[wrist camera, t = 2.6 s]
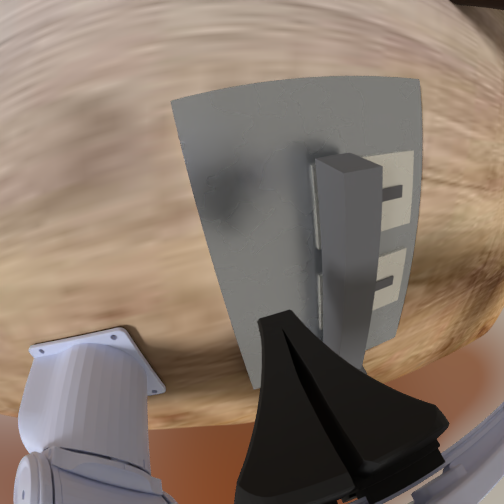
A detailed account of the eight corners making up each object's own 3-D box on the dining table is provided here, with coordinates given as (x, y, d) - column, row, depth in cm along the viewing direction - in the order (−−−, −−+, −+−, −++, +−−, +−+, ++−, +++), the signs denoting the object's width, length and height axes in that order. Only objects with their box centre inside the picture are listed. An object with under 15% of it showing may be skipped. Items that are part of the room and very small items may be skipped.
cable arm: (315, 372, 22) (330, 403, 20) (302, 160, 13) (336, 179, 10) (348, 359, 23) (365, 389, 20) (358, 150, 13) (399, 167, 11)
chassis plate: (251, 380, 23) (254, 392, 22) (171, 101, 12) (170, 100, 11) (389, 330, 25) (396, 339, 24) (408, 78, 13) (422, 79, 12)
